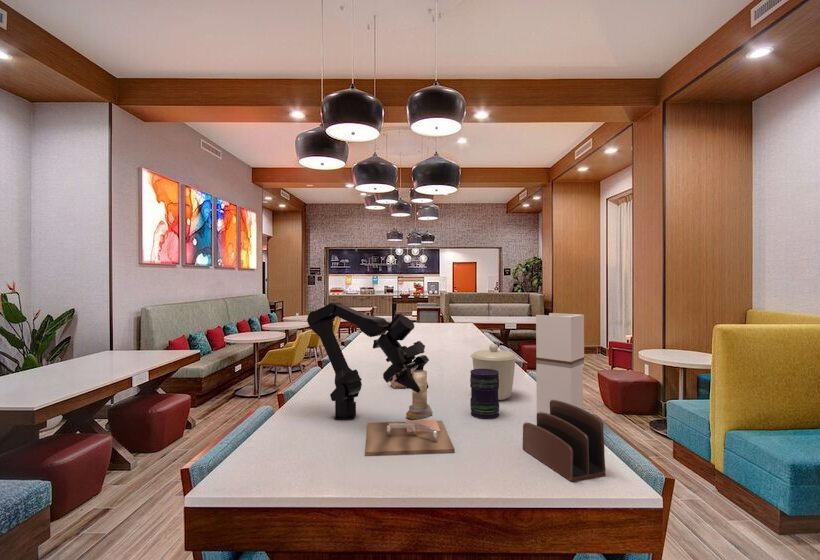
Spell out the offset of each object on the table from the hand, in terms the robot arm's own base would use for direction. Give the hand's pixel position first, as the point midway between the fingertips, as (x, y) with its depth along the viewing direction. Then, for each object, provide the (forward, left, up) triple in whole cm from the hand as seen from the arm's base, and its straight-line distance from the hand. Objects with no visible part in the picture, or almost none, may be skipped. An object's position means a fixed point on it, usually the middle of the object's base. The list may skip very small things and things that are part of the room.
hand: (423, 390), depth 126 cm
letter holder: (+33, -22, -14) cm, 42 cm away
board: (-5, -2, -13) cm, 15 cm away
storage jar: (+23, +17, -14) cm, 31 cm away
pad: (0, +4, -12) cm, 13 cm away
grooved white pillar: (+46, +7, -14) cm, 48 cm away
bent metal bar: (-4, -6, -12) cm, 14 cm away
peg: (-1, +1, -7) cm, 7 cm away
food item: (-2, +57, -14) cm, 59 cm away
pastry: (0, +18, -14) cm, 22 cm away
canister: (+32, +38, -14) cm, 51 cm away
